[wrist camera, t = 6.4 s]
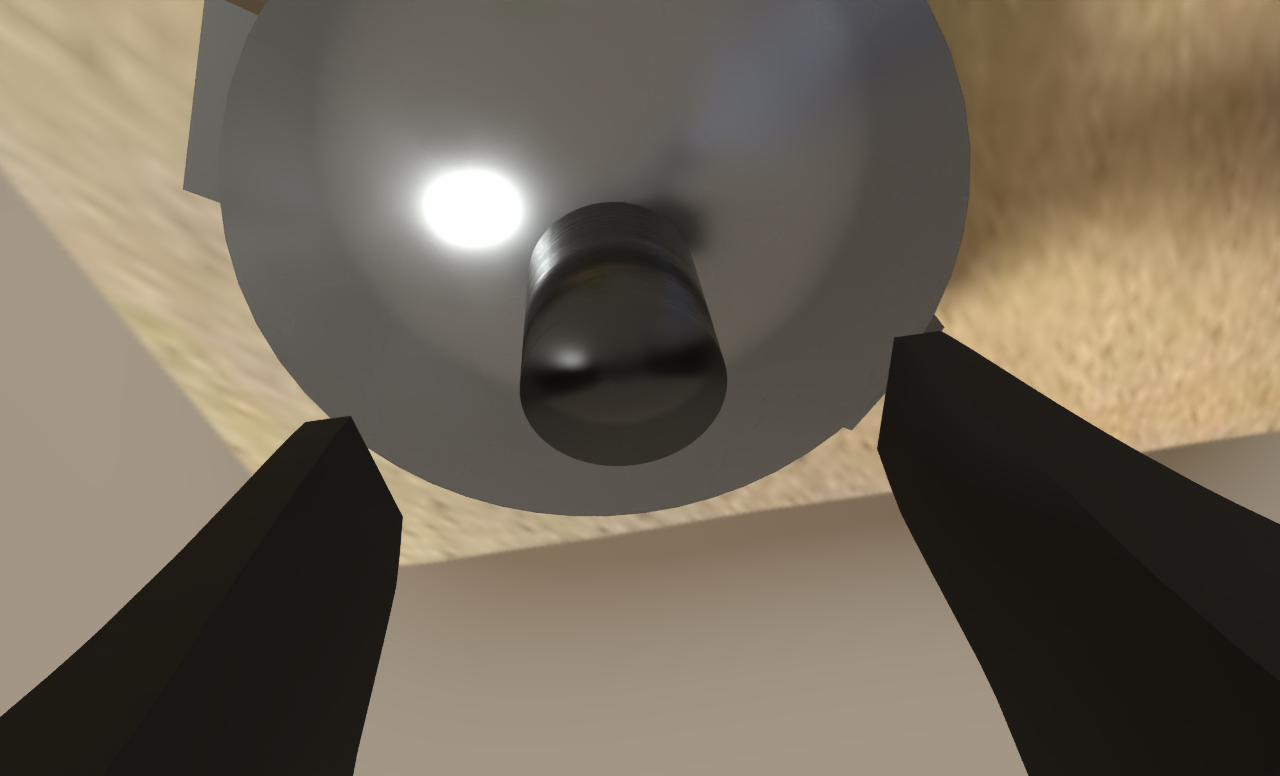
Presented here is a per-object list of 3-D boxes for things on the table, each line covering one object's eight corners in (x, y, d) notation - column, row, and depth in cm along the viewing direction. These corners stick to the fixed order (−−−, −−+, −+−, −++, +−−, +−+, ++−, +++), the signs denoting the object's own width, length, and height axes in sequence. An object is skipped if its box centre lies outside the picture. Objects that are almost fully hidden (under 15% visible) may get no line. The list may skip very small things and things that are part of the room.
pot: (955, 78, 17) (1104, 172, 12) (723, 396, 23) (765, 542, 18) (360, -298, 12) (233, -378, 7) (260, 233, 18) (153, 375, 13)
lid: (822, -431, 7) (1008, -619, 4) (994, 345, 15) (1111, 483, 11) (59, 120, 10) (-160, 246, 7) (516, 546, 17) (507, 702, 14)
